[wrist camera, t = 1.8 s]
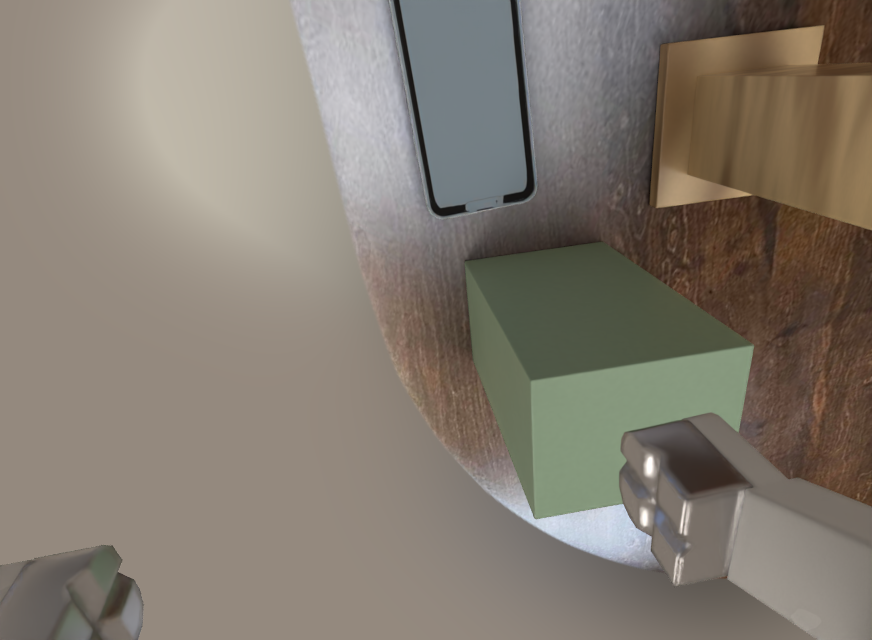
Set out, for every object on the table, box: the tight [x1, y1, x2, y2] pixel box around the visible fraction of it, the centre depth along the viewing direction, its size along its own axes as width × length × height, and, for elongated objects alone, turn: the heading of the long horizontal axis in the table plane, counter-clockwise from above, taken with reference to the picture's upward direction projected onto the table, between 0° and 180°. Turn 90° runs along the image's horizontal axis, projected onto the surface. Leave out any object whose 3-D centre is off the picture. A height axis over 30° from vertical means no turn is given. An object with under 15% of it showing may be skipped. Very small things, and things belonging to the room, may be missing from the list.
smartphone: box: [388, 0, 538, 220], centre depth 31 cm, size 7×1×15 cm
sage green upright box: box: [465, 242, 754, 519], centre depth 31 cm, size 10×8×16 cm
